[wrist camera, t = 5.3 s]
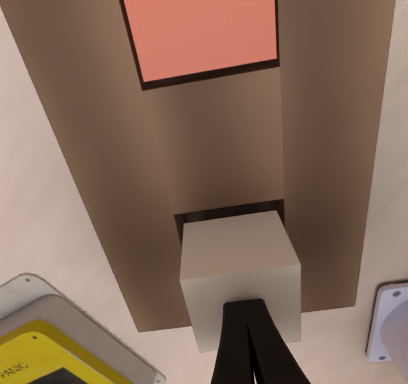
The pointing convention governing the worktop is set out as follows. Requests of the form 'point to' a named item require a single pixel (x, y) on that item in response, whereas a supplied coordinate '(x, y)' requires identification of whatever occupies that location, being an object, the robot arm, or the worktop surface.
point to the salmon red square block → (200, 34)
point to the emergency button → (60, 341)
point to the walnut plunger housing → (215, 139)
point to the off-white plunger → (239, 273)
